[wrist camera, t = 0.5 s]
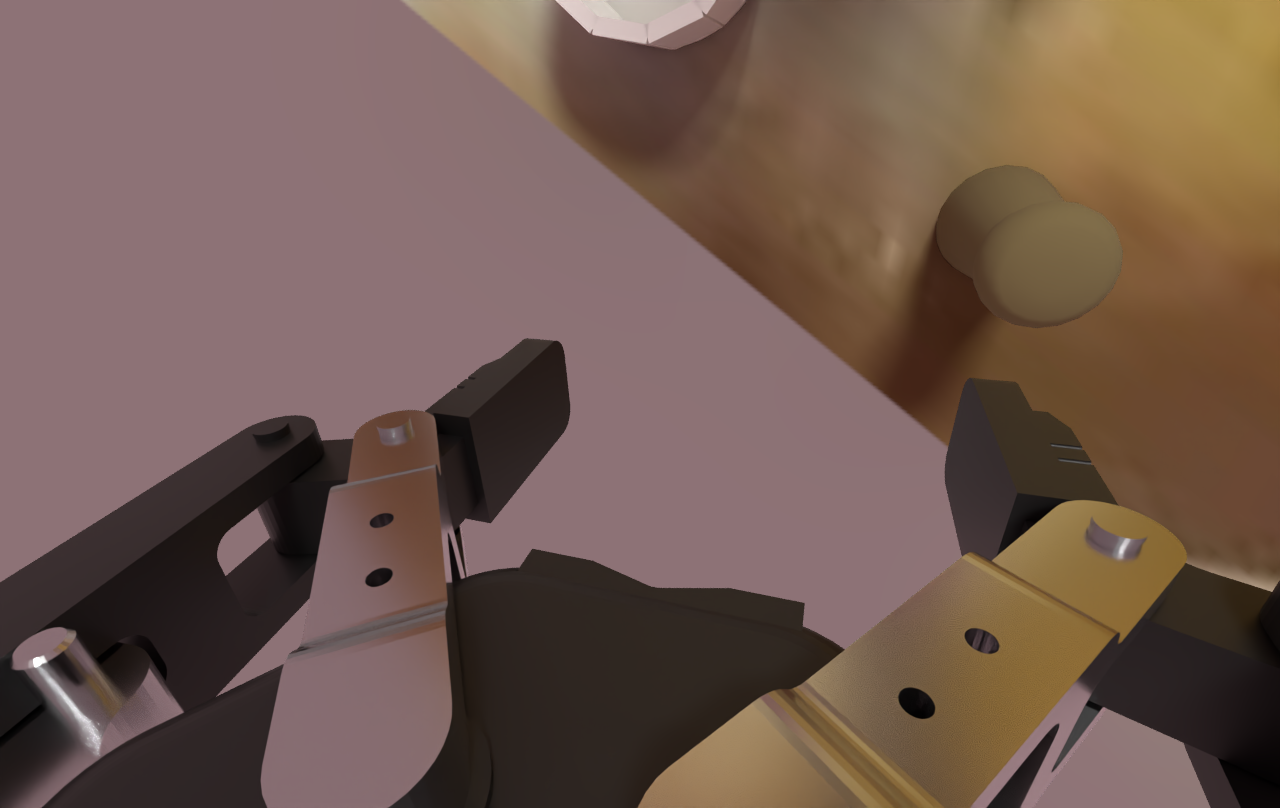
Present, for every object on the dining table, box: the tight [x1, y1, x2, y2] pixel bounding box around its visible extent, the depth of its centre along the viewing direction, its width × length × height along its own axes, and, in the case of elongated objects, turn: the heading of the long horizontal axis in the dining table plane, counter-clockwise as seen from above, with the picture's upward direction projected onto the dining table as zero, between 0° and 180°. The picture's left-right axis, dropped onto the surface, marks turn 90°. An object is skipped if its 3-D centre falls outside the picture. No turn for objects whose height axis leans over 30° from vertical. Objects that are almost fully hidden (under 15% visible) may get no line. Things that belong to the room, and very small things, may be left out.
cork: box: [936, 165, 1123, 328], centre depth 28 cm, size 6×6×11 cm
